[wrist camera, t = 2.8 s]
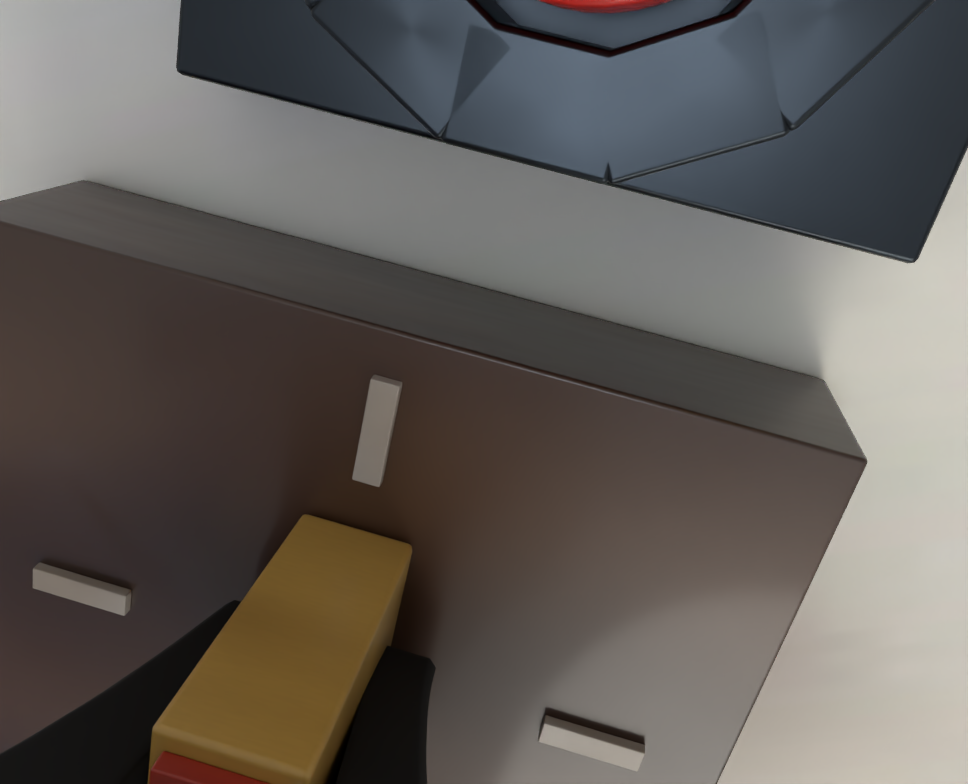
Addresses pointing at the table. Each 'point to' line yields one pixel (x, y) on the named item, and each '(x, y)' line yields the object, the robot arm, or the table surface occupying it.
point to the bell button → (604, 5)
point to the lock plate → (398, 484)
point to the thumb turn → (287, 665)
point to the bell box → (642, 95)
